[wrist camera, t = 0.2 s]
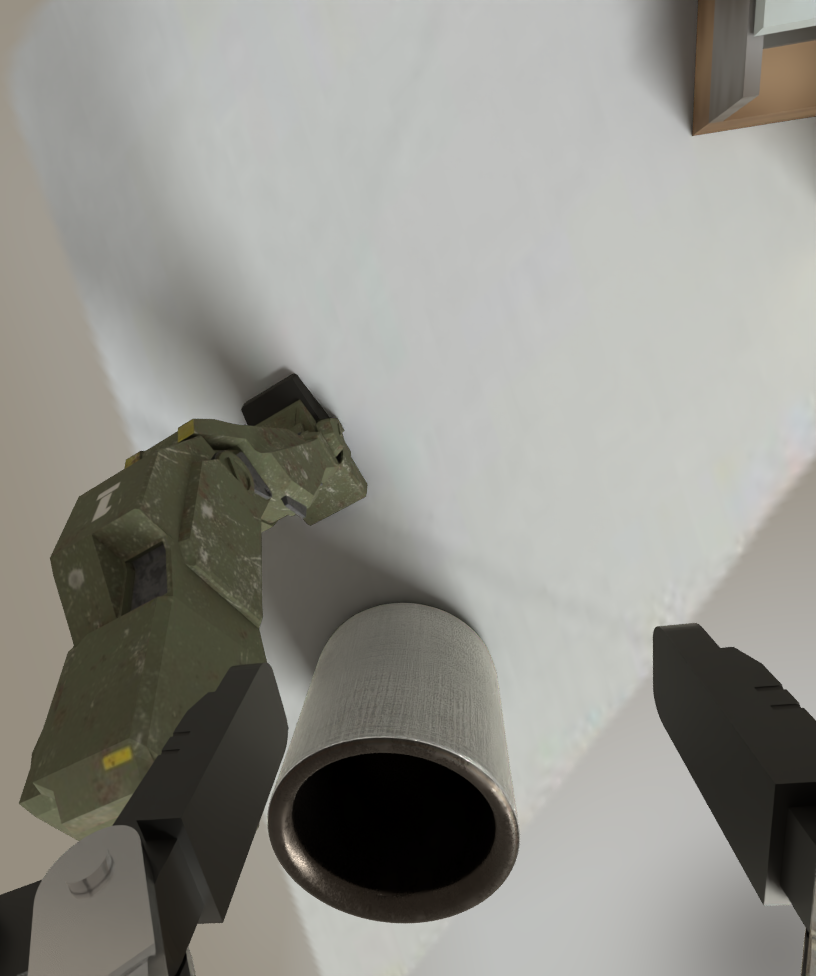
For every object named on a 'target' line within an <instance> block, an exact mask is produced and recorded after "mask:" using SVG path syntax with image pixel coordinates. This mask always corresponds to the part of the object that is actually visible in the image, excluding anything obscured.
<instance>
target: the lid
mask: <svg viewBox="0 0 816 976" xmlns="http://www.w3.org/2000/svg"><path fill="white" fill-rule="evenodd" d="M811 26H816V0H756V10H755V24H754V36H760V35H765V34H771V33H777V32H782V31H788V30H794V29H800V28H805V27H811Z"/></svg>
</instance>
